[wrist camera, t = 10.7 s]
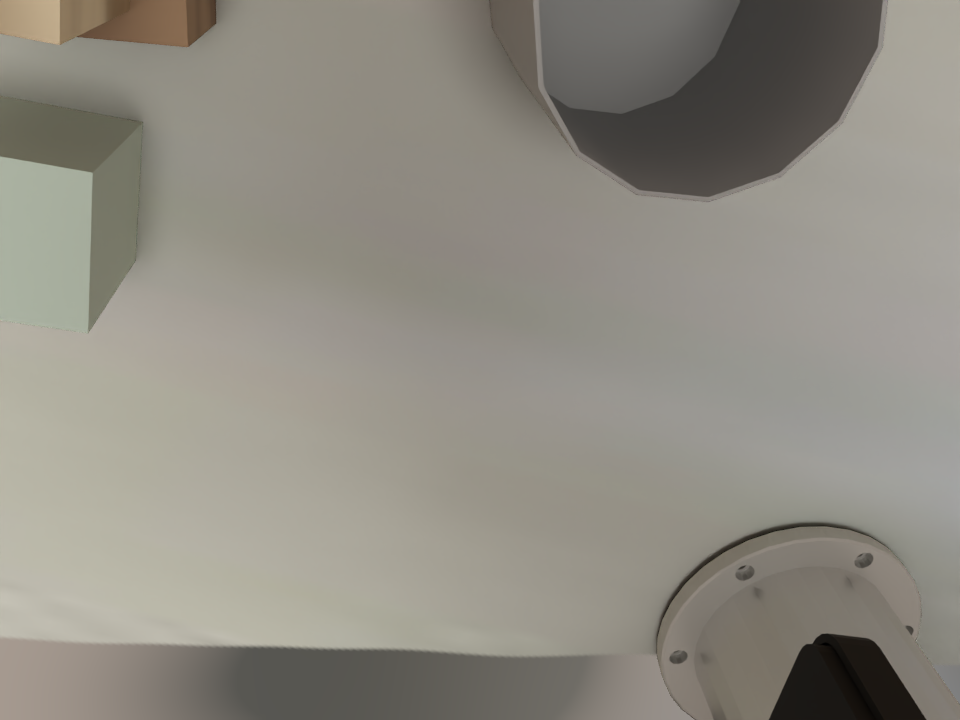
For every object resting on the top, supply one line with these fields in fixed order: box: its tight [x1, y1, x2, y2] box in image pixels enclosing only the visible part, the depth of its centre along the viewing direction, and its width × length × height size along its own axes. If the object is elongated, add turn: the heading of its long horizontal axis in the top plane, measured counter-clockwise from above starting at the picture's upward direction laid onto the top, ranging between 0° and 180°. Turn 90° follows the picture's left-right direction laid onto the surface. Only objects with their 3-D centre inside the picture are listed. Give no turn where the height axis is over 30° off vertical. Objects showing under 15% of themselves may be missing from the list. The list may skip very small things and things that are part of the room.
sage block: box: [0, 96, 143, 333], centre depth 28 cm, size 5×5×6 cm
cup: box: [490, 0, 888, 202], centre depth 25 cm, size 8×8×10 cm
